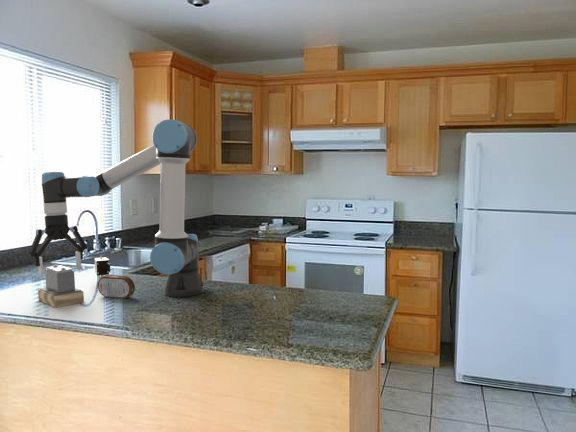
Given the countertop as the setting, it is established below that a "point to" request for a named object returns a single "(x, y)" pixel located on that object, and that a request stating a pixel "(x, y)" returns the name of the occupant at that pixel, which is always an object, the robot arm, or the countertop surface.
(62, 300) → the stand
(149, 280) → the countertop surface
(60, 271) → the housing
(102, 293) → the tin
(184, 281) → the robot arm
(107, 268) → the pneumatic valve
